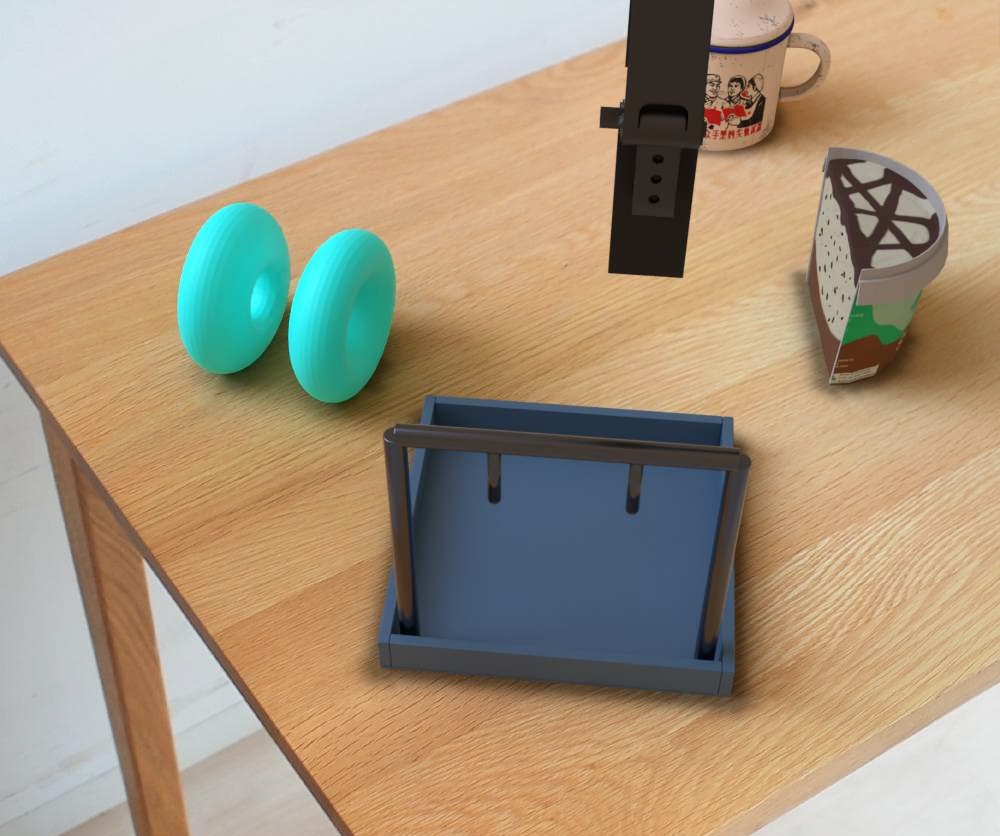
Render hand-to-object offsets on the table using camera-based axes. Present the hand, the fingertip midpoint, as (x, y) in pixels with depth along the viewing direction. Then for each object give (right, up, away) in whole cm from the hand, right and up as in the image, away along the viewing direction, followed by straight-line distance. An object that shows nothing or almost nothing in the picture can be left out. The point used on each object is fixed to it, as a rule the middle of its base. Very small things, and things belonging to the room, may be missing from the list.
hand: (651, 159), depth 57 cm
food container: (+16, -4, +32) cm, 36 cm away
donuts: (-18, -6, +30) cm, 35 cm away
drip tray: (-3, -16, +20) cm, 26 cm away
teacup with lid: (+11, +13, +47) cm, 50 cm away
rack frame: (-3, -22, +15) cm, 27 cm away
